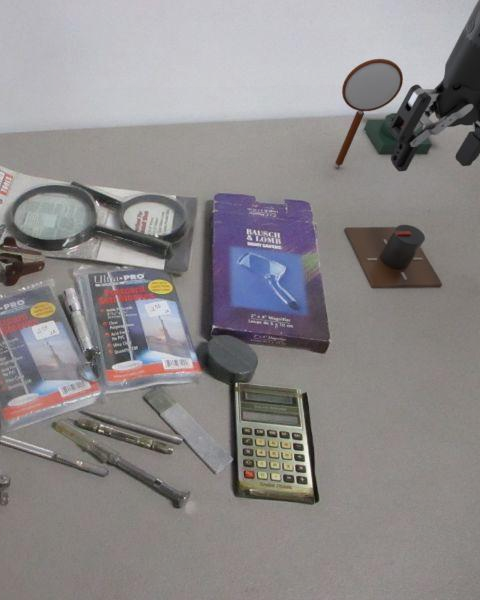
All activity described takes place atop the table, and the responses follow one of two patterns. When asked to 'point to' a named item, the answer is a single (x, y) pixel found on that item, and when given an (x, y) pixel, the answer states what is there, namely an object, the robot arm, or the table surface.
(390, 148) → the button box
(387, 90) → the magnifying glass
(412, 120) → the robot arm
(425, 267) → the panel
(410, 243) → the knob
